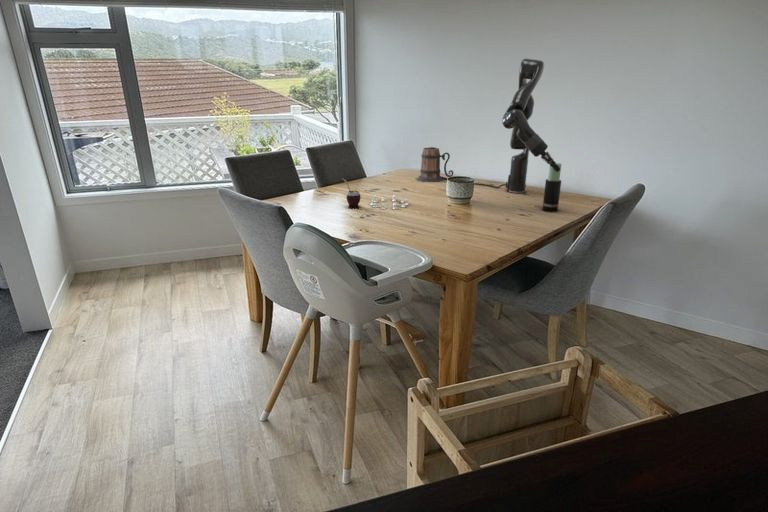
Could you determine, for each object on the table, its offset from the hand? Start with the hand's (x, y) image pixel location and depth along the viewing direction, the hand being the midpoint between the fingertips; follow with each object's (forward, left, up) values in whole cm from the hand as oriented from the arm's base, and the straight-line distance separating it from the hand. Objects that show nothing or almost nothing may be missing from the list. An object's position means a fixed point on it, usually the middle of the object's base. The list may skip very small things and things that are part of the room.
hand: (557, 169), depth 229 cm
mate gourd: (-82, -57, -21) cm, 102 cm away
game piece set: (-71, -41, -21) cm, 84 cm away
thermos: (-1, -1, -20) cm, 20 cm away
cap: (-1, -1, -5) cm, 5 cm away
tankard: (-87, +30, -21) cm, 94 cm away
